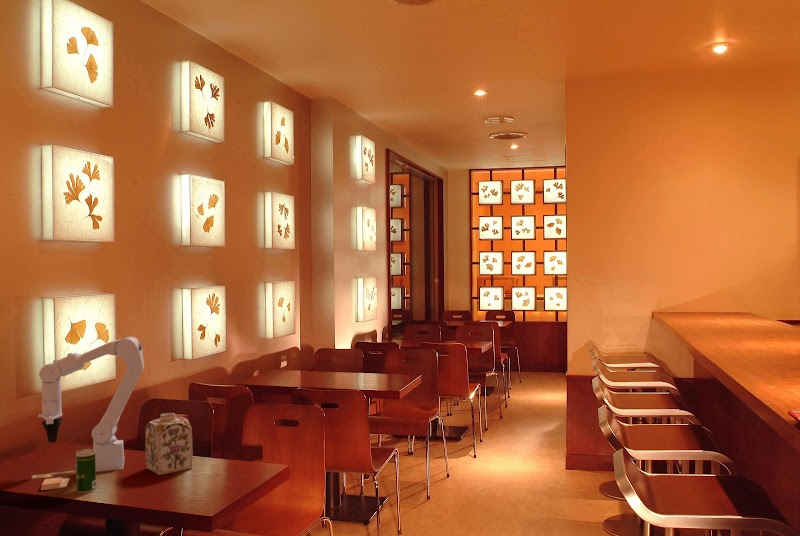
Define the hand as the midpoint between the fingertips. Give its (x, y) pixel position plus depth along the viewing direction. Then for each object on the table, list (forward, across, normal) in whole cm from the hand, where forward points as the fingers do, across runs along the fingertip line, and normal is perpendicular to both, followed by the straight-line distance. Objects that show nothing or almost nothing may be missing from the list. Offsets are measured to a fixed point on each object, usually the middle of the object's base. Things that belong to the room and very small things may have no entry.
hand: (52, 441), depth 235 cm
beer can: (+10, +27, +12) cm, 31 cm away
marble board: (+10, +15, +2) cm, 18 cm away
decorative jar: (+10, +12, +36) cm, 39 cm away
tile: (+9, +16, +2) cm, 18 cm away
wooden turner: (+10, +5, +1) cm, 11 cm away
